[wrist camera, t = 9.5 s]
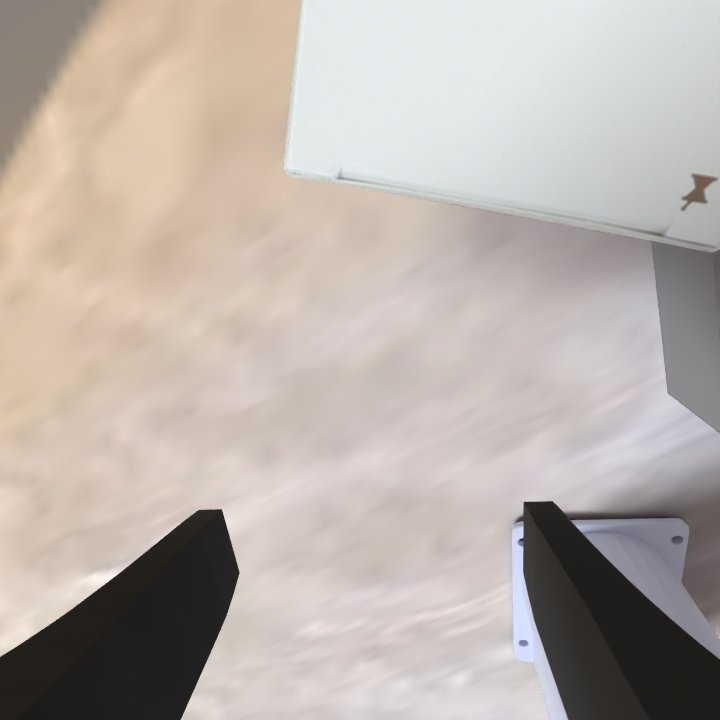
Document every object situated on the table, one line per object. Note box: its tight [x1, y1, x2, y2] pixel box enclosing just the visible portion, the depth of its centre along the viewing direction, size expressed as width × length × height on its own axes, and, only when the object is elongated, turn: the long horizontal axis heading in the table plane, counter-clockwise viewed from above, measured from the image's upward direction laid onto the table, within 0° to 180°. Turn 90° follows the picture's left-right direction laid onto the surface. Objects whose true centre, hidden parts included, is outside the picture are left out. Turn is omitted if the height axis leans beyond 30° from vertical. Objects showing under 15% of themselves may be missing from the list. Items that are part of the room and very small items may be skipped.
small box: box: [284, 0, 720, 252], centre depth 11 cm, size 8×6×10 cm
